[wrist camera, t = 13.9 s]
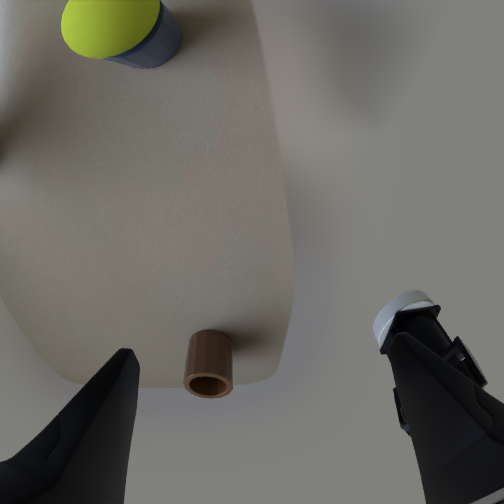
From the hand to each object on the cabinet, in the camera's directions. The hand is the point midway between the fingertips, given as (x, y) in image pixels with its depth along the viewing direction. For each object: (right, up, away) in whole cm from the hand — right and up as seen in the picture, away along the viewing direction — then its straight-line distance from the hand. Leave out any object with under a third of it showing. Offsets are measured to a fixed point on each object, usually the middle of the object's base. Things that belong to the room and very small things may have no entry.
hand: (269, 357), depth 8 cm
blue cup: (-7, +17, +4) cm, 19 cm away
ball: (-7, +14, -1) cm, 15 cm away
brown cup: (-5, -6, +17) cm, 19 cm away
